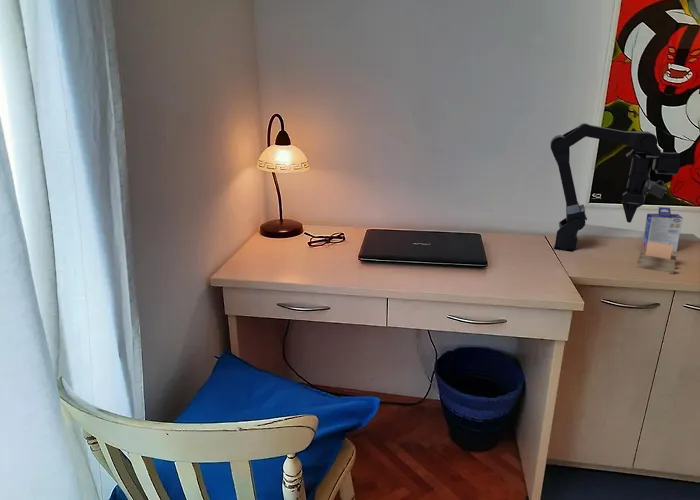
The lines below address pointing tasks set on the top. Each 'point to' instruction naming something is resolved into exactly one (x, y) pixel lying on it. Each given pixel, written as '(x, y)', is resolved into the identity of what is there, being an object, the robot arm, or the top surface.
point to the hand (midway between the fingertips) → (630, 219)
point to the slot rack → (656, 263)
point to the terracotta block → (659, 249)
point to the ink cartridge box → (663, 228)
